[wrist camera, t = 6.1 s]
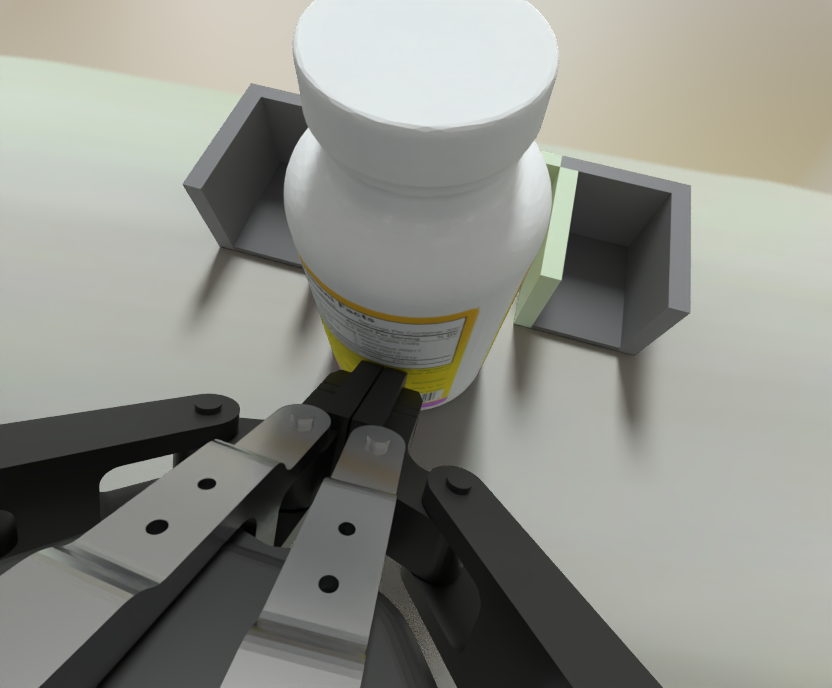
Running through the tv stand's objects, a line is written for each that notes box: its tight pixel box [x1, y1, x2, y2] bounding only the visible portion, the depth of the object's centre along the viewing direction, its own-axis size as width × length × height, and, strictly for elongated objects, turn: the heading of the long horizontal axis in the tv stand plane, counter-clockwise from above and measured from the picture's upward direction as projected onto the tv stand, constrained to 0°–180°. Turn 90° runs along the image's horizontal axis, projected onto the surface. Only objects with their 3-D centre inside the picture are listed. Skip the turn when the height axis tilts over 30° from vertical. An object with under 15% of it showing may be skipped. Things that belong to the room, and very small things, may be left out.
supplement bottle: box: [284, 0, 559, 410], centre depth 13 cm, size 7×7×13 cm
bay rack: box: [183, 83, 691, 355], centre depth 20 cm, size 20×6×4 cm, turn 75°
